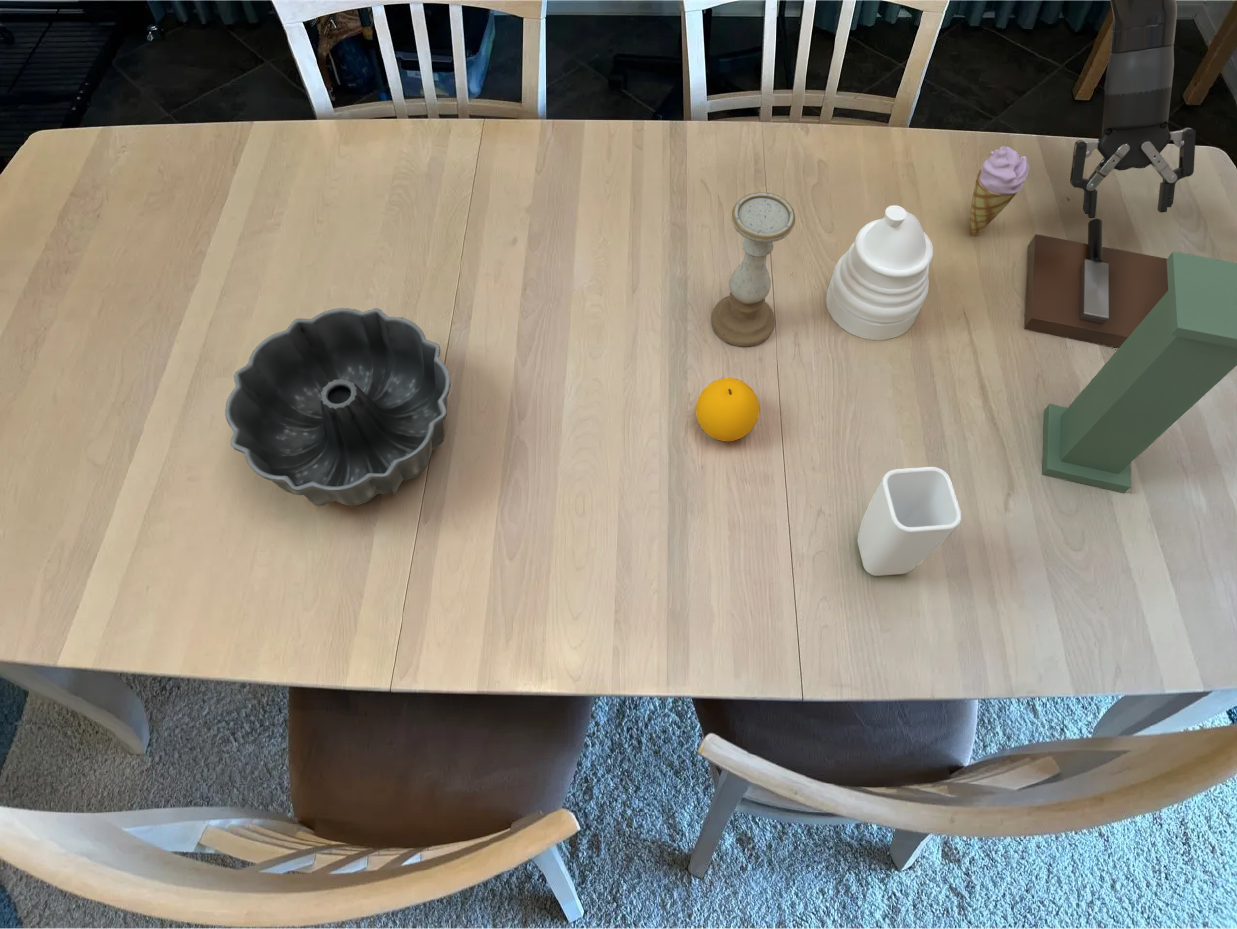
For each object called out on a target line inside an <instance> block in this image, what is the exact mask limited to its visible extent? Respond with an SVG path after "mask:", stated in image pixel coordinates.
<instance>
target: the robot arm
mask: <svg viewBox="0 0 1237 929" xmlns="http://www.w3.org/2000/svg"><path fill="white" fill-rule="evenodd" d="M1109 1H1110V6H1111V10H1112V27H1111V35H1110V47H1109V59H1108V63H1107V69H1106V72H1105V82H1104V84H1103V85H1104V86H1103V89H1104V98H1103V99H1104V100H1103V110H1102V111H1103V112H1102V124H1101V134H1100V136H1099V138H1098V139H1097V140H1085V141H1084V140H1083V139H1077V140H1075V143H1074V145H1073V151H1072V152H1073V153H1072V161H1071V167H1070V168H1071V169H1070V176H1069V184H1070V185H1071V186H1072V187H1073V188H1076V189H1082V190H1083V202H1082V212H1083V214H1084V215H1086V216H1087V218H1088V219H1096V215H1097V202H1098V190H1097V187H1098V186H1100V184H1101V183H1102V181H1103V180H1104V179H1105V178H1107V177H1108V176H1109V174H1111V172H1112V171H1113V170H1116V171H1126V170H1130V169H1146V167H1148V166H1150V165H1151V167H1152V168H1153V169H1154V170H1155V171H1156V172H1157V174H1158V175H1159V176H1160V177H1161V179H1162V182H1159V190H1158V203H1157V212H1159V213H1167V212H1168V208H1172V206H1173V205H1174V200H1175V199H1174V198H1175V192H1176V191H1175V189H1176V183H1177V182H1179V181H1180V180H1182V179H1184V178H1188V177H1191V176H1193V174H1194V172H1195V157H1196V156H1195V154H1196V138H1197V137H1196V136H1197V133H1196V130H1195V129H1193V128H1191V127H1183V129H1179V130H1175V131H1174V130H1173V131H1170V129H1169V116H1170V107H1171V97H1172V88H1173V78H1174V69H1175V54H1174V53H1175V51H1174V48H1175V46H1174V45H1175V38H1176V37H1175V36H1176V26H1177V19H1178V18H1177V17H1178V3H1177V0H1109ZM1170 141H1173V144H1174V146H1175V147H1177V148H1179V152H1178V167H1177V168H1174V169H1172V167H1171V166H1170V165H1169V163H1168V161H1166V159H1165V158H1164V157H1163V156H1162V154H1161V153H1162V151H1163V150H1164V149H1166V147H1167V146H1168V144H1169V143H1170ZM1094 150H1097V151H1098V152H1099V154H1100V155H1101V156H1102V157H1103V158H1102V160H1101V161H1100V162H1099V163H1098V164H1097V166H1096V167H1095V168H1094V170H1093V171H1092V173H1091V174H1090V175H1089V176H1088V178H1084V170H1085V163H1086V159H1089V158H1090V157H1091V156H1092V154H1093V152H1094Z"/></svg>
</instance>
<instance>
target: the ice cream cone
mask: <svg viewBox="0 0 1237 929" xmlns="http://www.w3.org/2000/svg"><path fill="white" fill-rule="evenodd" d="M990 154H991V156H989V157H988V158H987V159H985V160H983V162H982V165H981V168H980V169H979V170H978V172H977V175H976V179H975V184H974V188H973V192H972V198H971V205H970V212H969V222H968V229H967V230H968V231H967V233H968V235H970V236H972V237H975V236H978V234H980V233H981V231H983V230H984V229H985V228H986V227H987V226H988V225H989V224H990V223H991V222H992V221H993V220H994V219H995V218H996V217H997V216H998V215H999V214H1000V213H1001V212H1002V211H1003V210H1004V209H1005V208H1006V207H1007V206H1008V205H1009V203H1010V202H1011V201H1012V200H1013V198H1014V197H1015V196H1016V195H1017V194H1018V193H1019V192H1020V191H1021V190H1022V189H1023V187H1024V185H1025V181H1026V178H1027V177H1028V174H1029V171H1030V165H1029V162H1028V158H1027V156H1026V155H1022V156H1020V154H1019V153H1018V151H1017V150H1015V149H1013V148H1012V147H1010V146H1005V145H1004V146H1003V145H1002V146H1000V147H999V149H995V148H994V149H993V150H990Z"/></svg>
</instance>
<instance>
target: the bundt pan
mask: <svg viewBox="0 0 1237 929" xmlns="http://www.w3.org/2000/svg"><path fill="white" fill-rule="evenodd" d="M440 357H441V346H440V344H439V343H437V342H435V341H431V340H428V339H427V338H426V335H425V332H424V331H423V330H422V328H421V327H419V325H418V324H416V323H415V322H413V321H411V320H410V319H407V318H404V317H400V316H388V315H387V314H386V313H385V312H384V311H382V310H381V309H380V308H379V307H375V308H371V309H369V310H365V311H361V310H358V309H355V308H350V307H339V308H338V307H337V308H332V309H328V310H325V311H322V312H320V313H318V314H316V315H315V316H313V317H312V318H296V319H294V320H293V321H292V322H291V323H290V324H289V326H288V327H287V329H285V330H282V331H278V332H275V333H273V334H272V335H269V336H268V337H266V338H265V339H264V340H262V341H261V342H259V344H257V346H256V347H255V348H254V349H253V351H252V352H251V355H250V356H249V359H248V362H247V364H246V365H244V366H243V367H241V368H239V369H238V370H236V371H235V372H234V374H233V380H234V385H235V387H234V388H232V391H231V392H230V394H229V396H228V398H227V400H226V403H225V408H224V416H225V419H226V422H227V424H228V426H229V427H230V429H231V430H232V431H233V433H232V436H231V440H230V446H231V447H232V448H233V449H234V451H237V452H240V453H242V454H244V457H245V460H246V463H247V464H248V465H249V467H250V468H251V469H252V471H253V472H254V473H255V474H257V475H258V476H260V477H261V478H263V479H265V480H267V481H271V482H272V483H273V484H275V485H276V486H277V487H279V488H280V489H281V490H282V491H285V492H286V493H289V494H292V495H296V496H304V497H305V498H306V499H307V500H308V501H310V502H311V503H312V504H313V505H315V506H318V507H322V506H325V505H327V504H330V503H331V502H336V503H338V504H340V505H341V504H342V505H346V506H359V505H363V504H365V503H368V502H369V501H371V500H372V499H374V498H375V497H376V496H377V495H378V494H382V495H383V494H384V495H391V496H392V495H395V494H396V493H397V491H398V490H399V487H400V486H401V485H402V482H403V481H406V480H411V479H414V478H415V477H417V476H419V475H420V474H422V473H423V471H424V470H425V469H426V468H427V467H428V465H429V462H430V460H431V456H432V452H433V450H435V449H436V448H438V447H439V446H441V445H442V444H443V442H444V441H445V420H446V418H447V416H448V396H449V393H450V390H451V384H452V383H451V382H452V381H451V375H450V371H449V369H448V367H447V366H446V364H445V363H444V362H443V361H442V360H441V359H440Z"/></svg>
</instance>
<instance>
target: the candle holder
mask: <svg viewBox="0 0 1237 929" xmlns="http://www.w3.org/2000/svg"><path fill="white" fill-rule="evenodd" d="M730 218H731V219H730V220H731V223H732V226H733V228H734V230H735V231H736V232H737V234H739V235H741V237H743V240H742V242H741V246H742V249H743V251H744V255H743V259H742V261H741V263H740V264H739V265H738V266H737V267H736V268H735V269H734V270H733V271H732V273H731V275H730V278H729V284H728V286H729V290H730V293H729V295H726V296H725V297H722V298H721V299H720V300H719V301H718V302H716V303H715V306H714V307H713V309H712V311H711V317H710V318H711V319H710V320H711V321H710V322H711V327H712V329H713V331H714V332H715V334H716V336H718V337H719V338H720V339H721V340H723V341H724V342H726V343H727V344H730V345H732V346H737V347H752V346H753V347H754V346H757V345H760V344H761V343H764V341H766V340H767V339H768V338H770V336H771V334H772V332H773V331H774V328H775V325H776V324H775V322H776V318H775V313H774V311H773V309H772V307H771V306H770V305H769V303H768V302H766V297H767V296H768V294H769V293H770V291H771V286H772V280H771V275H770V273H769V271H768V269H767V265H766V264H767V257H768V256H769V255H770V254H771V253H772V251H773V250H774V243H775V242H779V241H781V240H783V239H785V238H787V236H789V235H790V233H792V231H793V229H794V228H795V224H796V213H795V210H794V208H793V206H792V205H791V204H790V202H788V201H787V200H786V199H785V198H783V197H782V196H779V195H777V194H774V193H771V192H764V191H763V192H762V191H760V192H759V191H758V192H752V193H748V194H746V195H744V196H743V197H741V198H740V199H738V201H737V202H736V203H734V206H733V207H732V210H731V216H730Z"/></svg>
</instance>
